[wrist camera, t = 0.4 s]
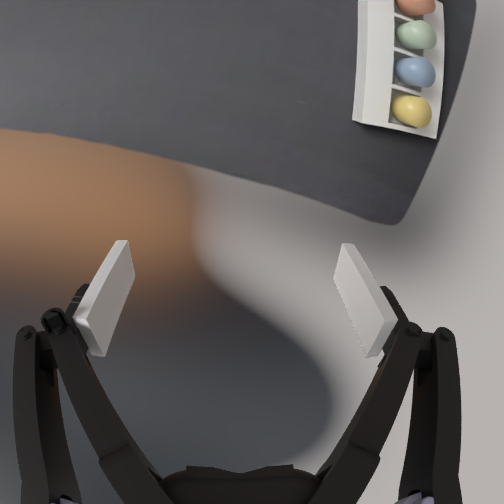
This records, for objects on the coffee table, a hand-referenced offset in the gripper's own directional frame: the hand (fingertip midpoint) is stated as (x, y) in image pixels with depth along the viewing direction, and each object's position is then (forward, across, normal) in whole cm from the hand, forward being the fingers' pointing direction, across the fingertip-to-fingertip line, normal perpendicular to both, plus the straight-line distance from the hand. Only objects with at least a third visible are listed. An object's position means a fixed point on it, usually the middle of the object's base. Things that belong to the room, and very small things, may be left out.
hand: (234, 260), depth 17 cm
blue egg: (+24, +24, +17) cm, 38 cm away
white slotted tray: (+27, +24, +20) cm, 41 cm away
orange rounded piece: (+24, +24, +29) cm, 44 cm away
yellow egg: (+24, +24, +11) cm, 35 cm away
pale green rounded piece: (+24, +24, +23) cm, 41 cm away
